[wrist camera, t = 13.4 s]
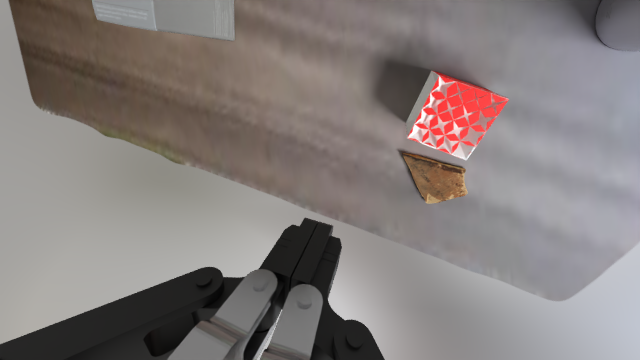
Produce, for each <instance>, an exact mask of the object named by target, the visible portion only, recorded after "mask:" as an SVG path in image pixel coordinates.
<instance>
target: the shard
mask: <svg viewBox="0 0 640 360" xmlns="http://www.w3.org/2000/svg"><path fill="white" fill-rule="evenodd" d="M402 155H403V157H404V159H405V161H406V163H407V165H408V166H409V168H410V170H411V173H412V176H413V178H414V180H415V182H416V185H417V188H418V189H419V191H420V193H421V195H422V196H423V197H424V199H425V201H426V203H427V204H431V203H438V202H442V201H446V200H449V199H453V198H456V197H461V196H465V195H466V194H467V193H468V192H467V189H466V186H465V183H464V173H465V171H466V169H463V168H460V167H454V166H451V165H448V164H442V163H439V162H436V161H434V160H431V159H427V158H425V157H421V156H419V155H412V154H407V153H402Z"/></svg>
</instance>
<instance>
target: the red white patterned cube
mask: <svg viewBox="0 0 640 360" xmlns="http://www.w3.org/2000/svg"><path fill="white" fill-rule="evenodd" d="M508 100H509V99H508V98H506V97H503V96H501V95H499V94H496V93H494V92H492V91H490V90H488V89H485V88H482V87H479V86H476V85H473V84H470V83H467V82H464V81H461V80H458V79H455V78H452V77H449V76H446V75H444V74H441V73H438V72H435V71H432V70H431V73H430V75H429V77H428V79H427V81H426V83H425V85H424V87H423V89H422V91H421V93H420V95H419V97H418V99H417V101H416V103H415V105H414V107H413V109H412V111H411V113H410V115H409V117H408V119H407V121H406V133H407V138H408V139H410V140H413V141H416V142H419V143H422V144H424V145H427V146H430V147H432V148H435V149H438V150H440V151H443V152H446V153H448V154H451V155H453V156H456V157H458V158H461V159H464V160H467V159H468V157H469V156H470V154H471V153H472V151H473V150H474V149H475V147H476V146H477V144H478V143H479V141H480V140H481V139H482V137H483V136H484V134H485V133H486V131H487V130H488V129H489V127H490V126H491V124H492V123H493V121H494V120H495V119H496V117H497V116H498V114H499V113H500V111H501V110H502V109H503V107H504V106H505V104H506V103H507V101H508Z"/></svg>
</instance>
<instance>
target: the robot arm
mask: <svg viewBox="0 0 640 360" xmlns="http://www.w3.org/2000/svg"><path fill="white" fill-rule="evenodd" d="M596 31H597V35H598V37H599V38H600V39H601V41H602V42H603V43H604V44H606V45H607V46H608V47H610V48H613V49H616V50H621V51H640V0H602V1H601V3H600V5H599V7H598V11H597V15H596ZM332 231H333V226H332V225H328V224H325V223H322V222H318V221H315V220H311V219H308V218H304V220H303V222H302V224H301V225H300V227H299V226H296V225H291V226H290V227H288V228H287V229H285V230H284V232H283V233H282V235H281V237H280V238H279V239H278V241H277V242H276V245H274V247H273V248H272V250H271V251H270V253H269V255H268V256H267V258H266V259H265V260H264V262H263V264H262V265H261V267H260V268H259V269H258V270H254V271H252V272H250V273H249V274H248V275H247V276H246V277H242V278H232V277H223V275H222V273H221V271H220V270H218V269H217V268H214V267H205V268H201V269H198V270H195V271H193V272H190V273H187V274H185V275H182V276H179V277H177V278H174V279H172V280H169V281H167V282H164V283H161V284H159V285H156V286H153V287H150V288H148V289H145V290H143V291H140V292H137V293H135V294H132V295H129V296H127V297H124V298H121V299H119V300H116V301H114V302H111V303H108V304H106V305H103V306H101V307H98V308H95V309H93V310H90V311H87V312H84V313H82V314H79V315H77V316H74V317H71V318H69V319H66V320H63V321H61V322H58V323H55V324H53V325H50V326H48V327H45V328H42V329H40V330H37V331H34V332H32V333H29V334H27V335H24V336H21V337H19V338H16V339H13V340H11V341H8V342H5V343H3V344H0V360H257V358H258V356H259V355H260V353H261V351H262V349H263V347H264V346H265V344H266V342H267V340H268V338H269V336H270V335H271V333H272V331H273V329H274V327H275V325H276V320H277V318H278V316H279V314H280V311H281V309H282V312H281V315H280V318H279V320H278V323H277V325H276V328H275V331H274V333H273V336H272V339H271V341H270V344H269V346H268V348H267V349H265V350H264V352H263V354H262V356H261V358H260V360H385V359H384V358H383V356H382V354H381V352H380V350H379V348H378V346H377V344H376V342H375V340H374V338H373V336H372V334H371V332H370V331H369V329H368V328H367V327H366V326H365V325H364V324H362V323H361V322H358V321H356V320H344V319H342V318H341V317H340V316H339V315H337V314H336V313H335V312H334V311H333V310H332V308H331V307H330V305H329V303H328V297H329V293H330V290H331V287H332V284H333V280H334V277H335V274H336V270H337V267H338V262H339V258H340V253H341V249H342V246H341V242H340V239H339V238H336V237H333V236H332Z"/></svg>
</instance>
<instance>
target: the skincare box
mask: <svg viewBox="0 0 640 360" xmlns="http://www.w3.org/2000/svg"><path fill="white" fill-rule="evenodd" d="M92 4H93V8H94V11H95V14H96V17H97V19H98V20H100V21H105V22H109V23H114V24H119V25H124V26H129V27H135V28H140V29H146V30H153V31H163V32H171V33H179V34H186V35H193V36H200V37H206V38H213V39H220V40H229V41H234V40H235V31H234V0H92Z"/></svg>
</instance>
